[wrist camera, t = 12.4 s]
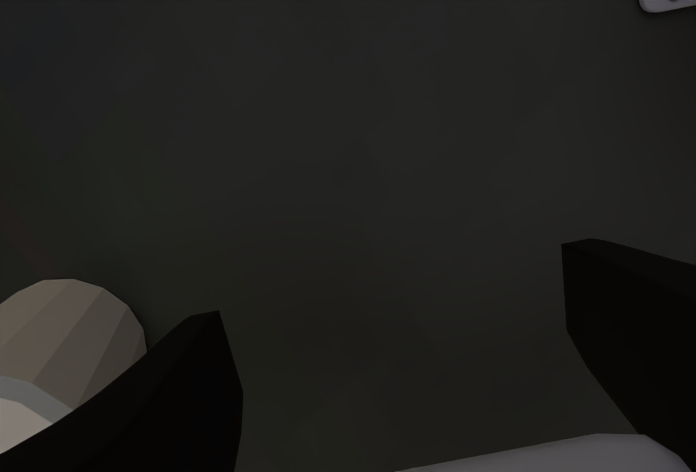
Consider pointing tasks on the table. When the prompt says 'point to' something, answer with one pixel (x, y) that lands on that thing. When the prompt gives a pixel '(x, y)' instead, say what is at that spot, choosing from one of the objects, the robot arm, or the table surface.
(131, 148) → the table surface
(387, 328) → the table surface
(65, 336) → the white tapered cylinder
